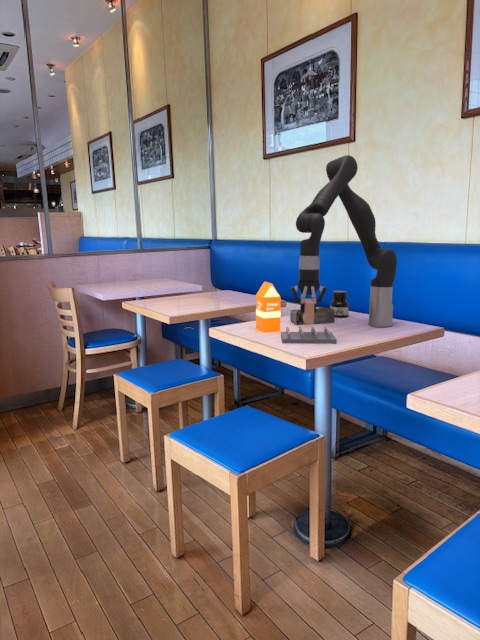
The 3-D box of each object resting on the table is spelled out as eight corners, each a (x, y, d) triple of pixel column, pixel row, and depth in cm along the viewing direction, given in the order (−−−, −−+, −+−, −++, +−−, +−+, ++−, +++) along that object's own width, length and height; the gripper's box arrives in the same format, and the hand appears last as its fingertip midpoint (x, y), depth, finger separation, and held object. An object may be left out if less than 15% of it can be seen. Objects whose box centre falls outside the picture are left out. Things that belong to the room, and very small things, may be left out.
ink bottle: (327, 317, 229) (328, 292, 227) (329, 314, 238) (330, 290, 235) (348, 318, 227) (349, 293, 225) (349, 315, 235) (350, 290, 233)
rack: (331, 335, 191) (331, 327, 190) (336, 343, 178) (336, 334, 178) (280, 335, 192) (281, 326, 191) (282, 343, 179) (282, 334, 178)
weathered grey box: (289, 322, 219) (289, 308, 218) (327, 320, 224) (328, 306, 223) (295, 325, 211) (296, 311, 210) (335, 323, 217) (336, 308, 215)
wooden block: (310, 319, 188) (311, 298, 186) (313, 323, 178) (314, 302, 177) (302, 318, 188) (303, 298, 186) (305, 323, 178) (305, 302, 177)
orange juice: (272, 327, 208) (272, 281, 204) (280, 331, 199) (281, 283, 196) (255, 328, 205) (255, 281, 201) (263, 332, 197) (263, 284, 193)
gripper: (326, 267, 183) (325, 311, 187) (289, 267, 184) (288, 311, 187) (329, 268, 176) (327, 315, 179) (290, 268, 176) (290, 314, 180)
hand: (308, 312), depth 183 cm, fingers closed on wooden block, 3 cm apart
